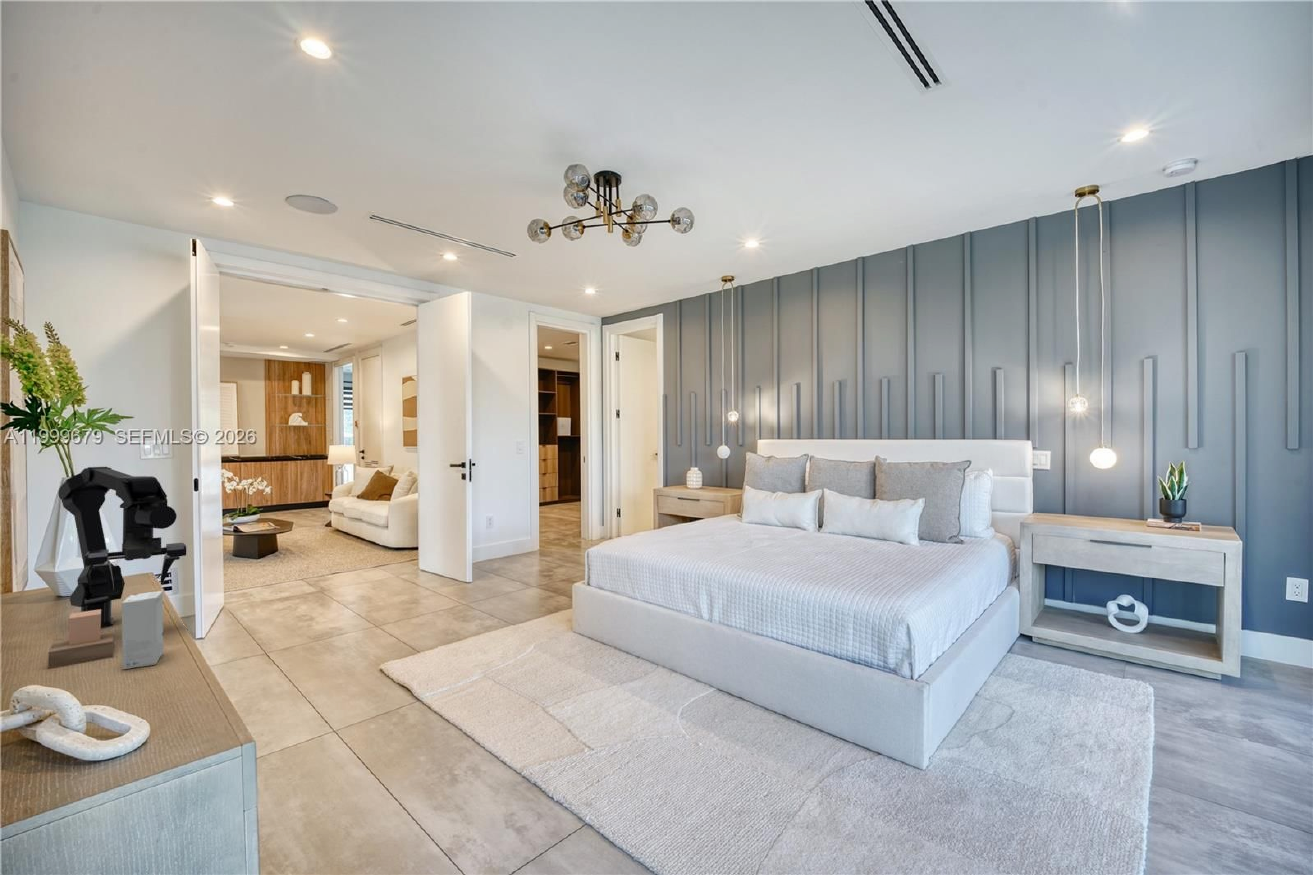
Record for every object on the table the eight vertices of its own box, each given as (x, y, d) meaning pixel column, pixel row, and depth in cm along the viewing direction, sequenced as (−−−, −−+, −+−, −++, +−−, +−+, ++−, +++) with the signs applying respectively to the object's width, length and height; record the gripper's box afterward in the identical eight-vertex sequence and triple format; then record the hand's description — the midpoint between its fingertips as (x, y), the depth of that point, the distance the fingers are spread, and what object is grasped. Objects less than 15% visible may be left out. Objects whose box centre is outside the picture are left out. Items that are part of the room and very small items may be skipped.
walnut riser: (53, 657, 128) (54, 639, 128) (114, 646, 135) (114, 630, 135) (48, 670, 121) (48, 652, 121) (112, 658, 128) (112, 641, 128)
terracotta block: (69, 639, 129) (70, 613, 129) (100, 634, 132) (101, 609, 132) (68, 645, 125) (69, 618, 125) (100, 640, 129) (100, 613, 129)
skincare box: (156, 665, 124) (157, 597, 124) (119, 671, 120) (120, 602, 120) (163, 652, 131) (164, 589, 131) (129, 658, 127) (130, 592, 127)
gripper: (83, 534, 130) (82, 601, 130) (188, 526, 143) (187, 587, 143) (87, 528, 138) (86, 591, 138) (185, 521, 151) (184, 579, 151)
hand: (137, 587), depth 142 cm, fingers open, 9 cm apart
